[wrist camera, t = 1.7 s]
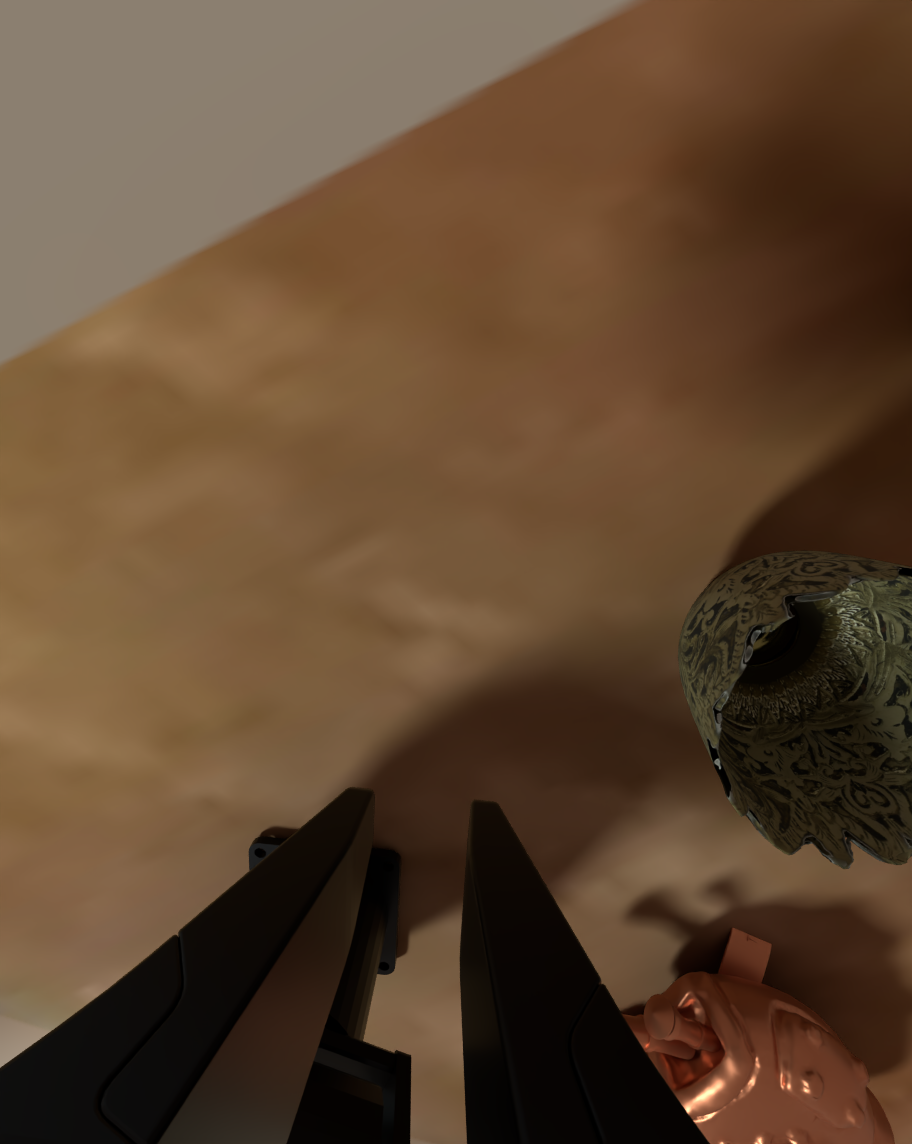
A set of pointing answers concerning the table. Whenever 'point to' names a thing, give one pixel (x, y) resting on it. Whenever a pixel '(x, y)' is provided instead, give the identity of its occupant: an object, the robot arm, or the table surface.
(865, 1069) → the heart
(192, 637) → the table surface
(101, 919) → the table surface
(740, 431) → the table surface
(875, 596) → the cup
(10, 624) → the table surface
